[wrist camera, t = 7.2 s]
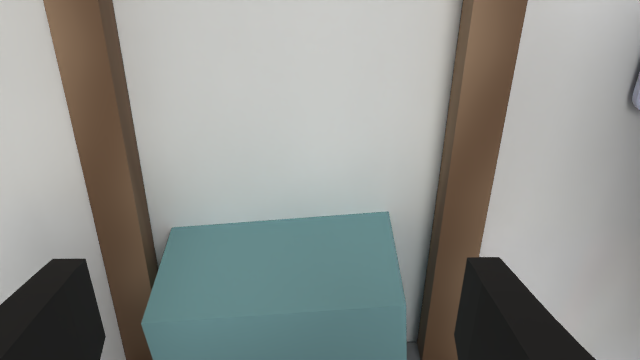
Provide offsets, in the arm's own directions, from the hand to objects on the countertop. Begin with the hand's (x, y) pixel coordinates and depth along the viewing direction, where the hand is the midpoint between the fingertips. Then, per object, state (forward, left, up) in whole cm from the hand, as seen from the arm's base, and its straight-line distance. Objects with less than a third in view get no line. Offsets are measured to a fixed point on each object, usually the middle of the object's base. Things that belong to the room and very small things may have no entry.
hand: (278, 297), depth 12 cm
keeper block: (0, +8, -10) cm, 12 cm away
